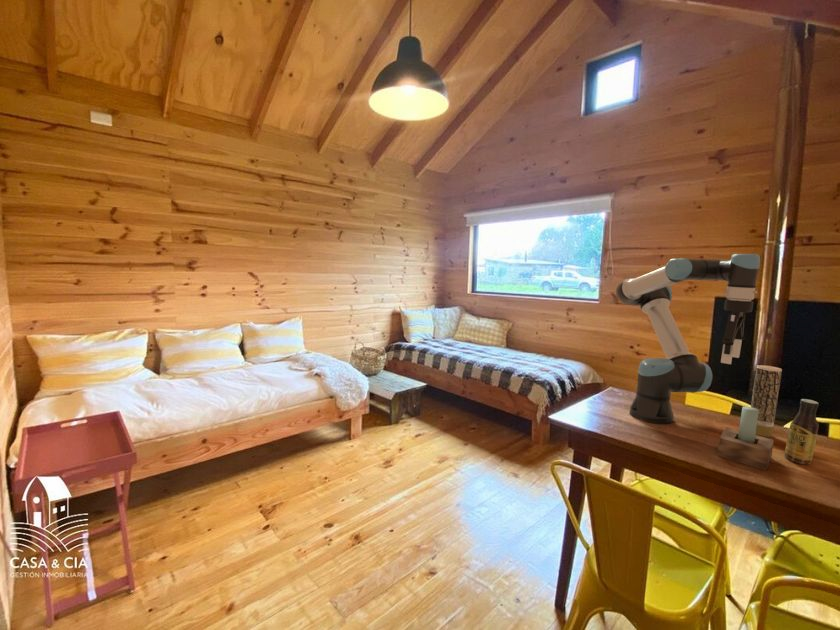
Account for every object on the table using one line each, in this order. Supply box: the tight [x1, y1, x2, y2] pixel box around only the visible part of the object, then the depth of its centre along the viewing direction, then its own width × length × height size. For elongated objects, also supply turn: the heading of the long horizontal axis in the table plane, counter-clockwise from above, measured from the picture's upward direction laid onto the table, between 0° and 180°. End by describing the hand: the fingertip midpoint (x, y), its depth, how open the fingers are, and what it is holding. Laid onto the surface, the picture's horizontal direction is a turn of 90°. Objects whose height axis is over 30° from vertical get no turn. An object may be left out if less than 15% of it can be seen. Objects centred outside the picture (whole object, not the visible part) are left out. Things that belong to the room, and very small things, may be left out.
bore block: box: [716, 427, 775, 471], centre depth 123 cm, size 12×12×6 cm
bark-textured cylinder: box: [750, 364, 783, 438], centre depth 140 cm, size 7×7×25 cm
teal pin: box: [738, 405, 759, 444], centre depth 123 cm, size 4×4×14 cm
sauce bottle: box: [784, 398, 820, 465], centre depth 121 cm, size 6×6×20 cm
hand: (730, 360), depth 135 cm, fingers open, 13 cm apart
